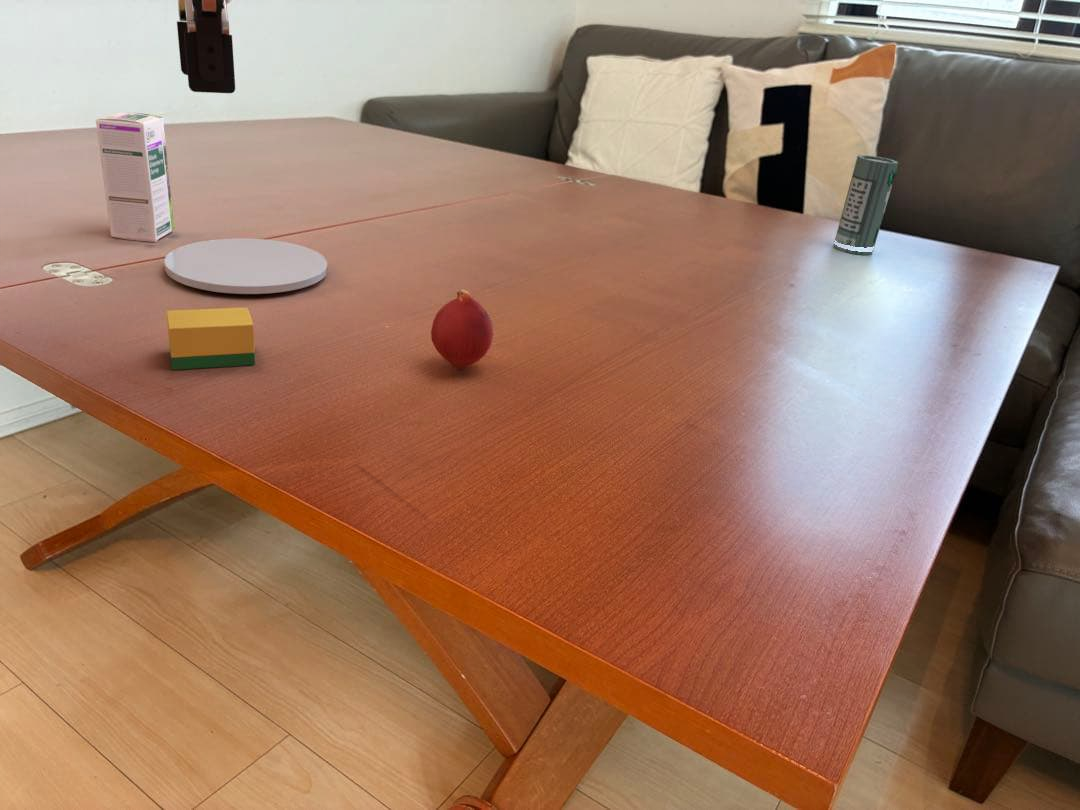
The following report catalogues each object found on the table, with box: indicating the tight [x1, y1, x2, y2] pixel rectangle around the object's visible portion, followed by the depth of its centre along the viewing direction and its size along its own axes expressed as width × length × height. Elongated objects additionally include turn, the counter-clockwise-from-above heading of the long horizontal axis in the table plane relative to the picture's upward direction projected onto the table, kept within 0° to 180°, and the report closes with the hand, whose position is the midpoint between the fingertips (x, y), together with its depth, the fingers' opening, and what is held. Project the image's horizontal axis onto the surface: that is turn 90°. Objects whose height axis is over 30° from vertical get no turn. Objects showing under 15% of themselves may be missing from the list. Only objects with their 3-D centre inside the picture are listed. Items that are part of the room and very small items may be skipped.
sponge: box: [166, 307, 256, 371], centre depth 77 cm, size 7×4×4 cm, turn 114°
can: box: [833, 154, 900, 256], centre depth 140 cm, size 6×6×15 cm
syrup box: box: [95, 111, 175, 243], centre depth 105 cm, size 6×6×14 cm
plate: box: [163, 237, 328, 295], centre depth 99 cm, size 18×18×2 cm
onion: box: [430, 289, 494, 370], centre depth 80 cm, size 6×6×8 cm
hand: (207, 83), depth 67 cm, fingers open, 9 cm apart
